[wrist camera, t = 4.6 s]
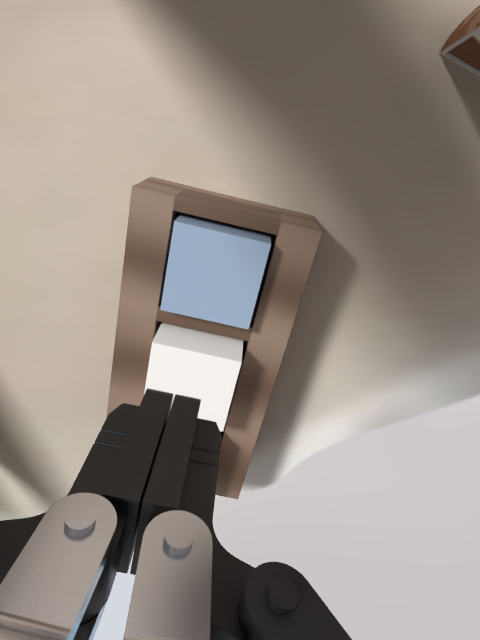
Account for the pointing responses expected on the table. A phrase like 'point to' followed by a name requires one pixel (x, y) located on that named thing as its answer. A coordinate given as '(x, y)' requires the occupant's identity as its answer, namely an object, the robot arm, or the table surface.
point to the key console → (258, 342)
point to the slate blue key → (214, 270)
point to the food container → (465, 43)
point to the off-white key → (196, 368)
